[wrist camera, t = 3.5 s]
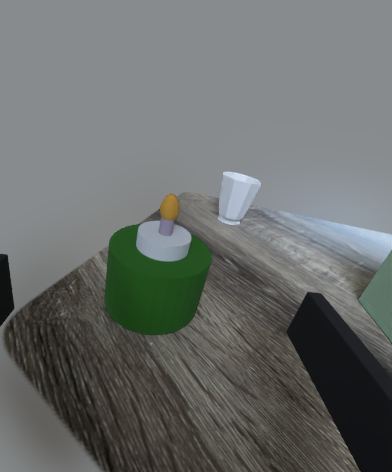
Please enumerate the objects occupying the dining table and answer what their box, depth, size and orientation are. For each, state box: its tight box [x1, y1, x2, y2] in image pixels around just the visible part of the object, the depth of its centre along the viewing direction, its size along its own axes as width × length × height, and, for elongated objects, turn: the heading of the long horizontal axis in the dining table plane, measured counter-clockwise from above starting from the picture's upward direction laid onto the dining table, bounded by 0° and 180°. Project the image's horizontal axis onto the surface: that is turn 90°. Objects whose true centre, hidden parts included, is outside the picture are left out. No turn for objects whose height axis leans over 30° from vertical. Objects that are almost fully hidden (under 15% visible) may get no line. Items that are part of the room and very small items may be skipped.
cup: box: [218, 172, 261, 226], centre depth 44 cm, size 7×10×8 cm
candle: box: [105, 194, 211, 335], centre depth 20 cm, size 8×8×10 cm
